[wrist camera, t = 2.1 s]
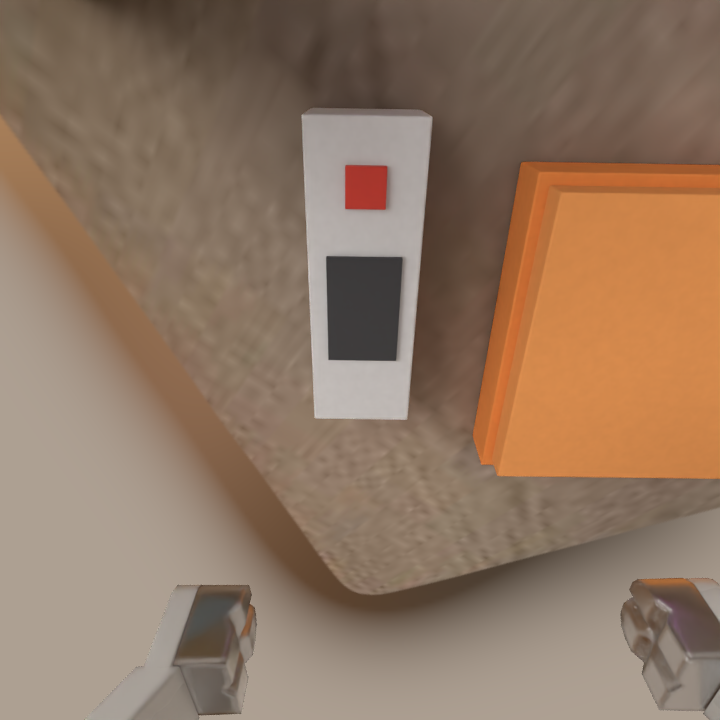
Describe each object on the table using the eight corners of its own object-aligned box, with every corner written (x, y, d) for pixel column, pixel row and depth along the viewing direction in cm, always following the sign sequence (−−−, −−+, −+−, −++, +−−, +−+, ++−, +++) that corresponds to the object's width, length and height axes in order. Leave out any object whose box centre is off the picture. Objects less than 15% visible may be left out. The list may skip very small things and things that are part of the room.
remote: (310, 107, 20) (300, 114, 17) (422, 109, 20) (434, 117, 17) (319, 380, 28) (313, 422, 24) (402, 381, 28) (408, 424, 24)
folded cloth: (520, 161, 21) (550, 178, 18) (873, 167, 22) (970, 185, 18) (472, 435, 30) (486, 483, 26) (727, 439, 30) (774, 486, 26)
